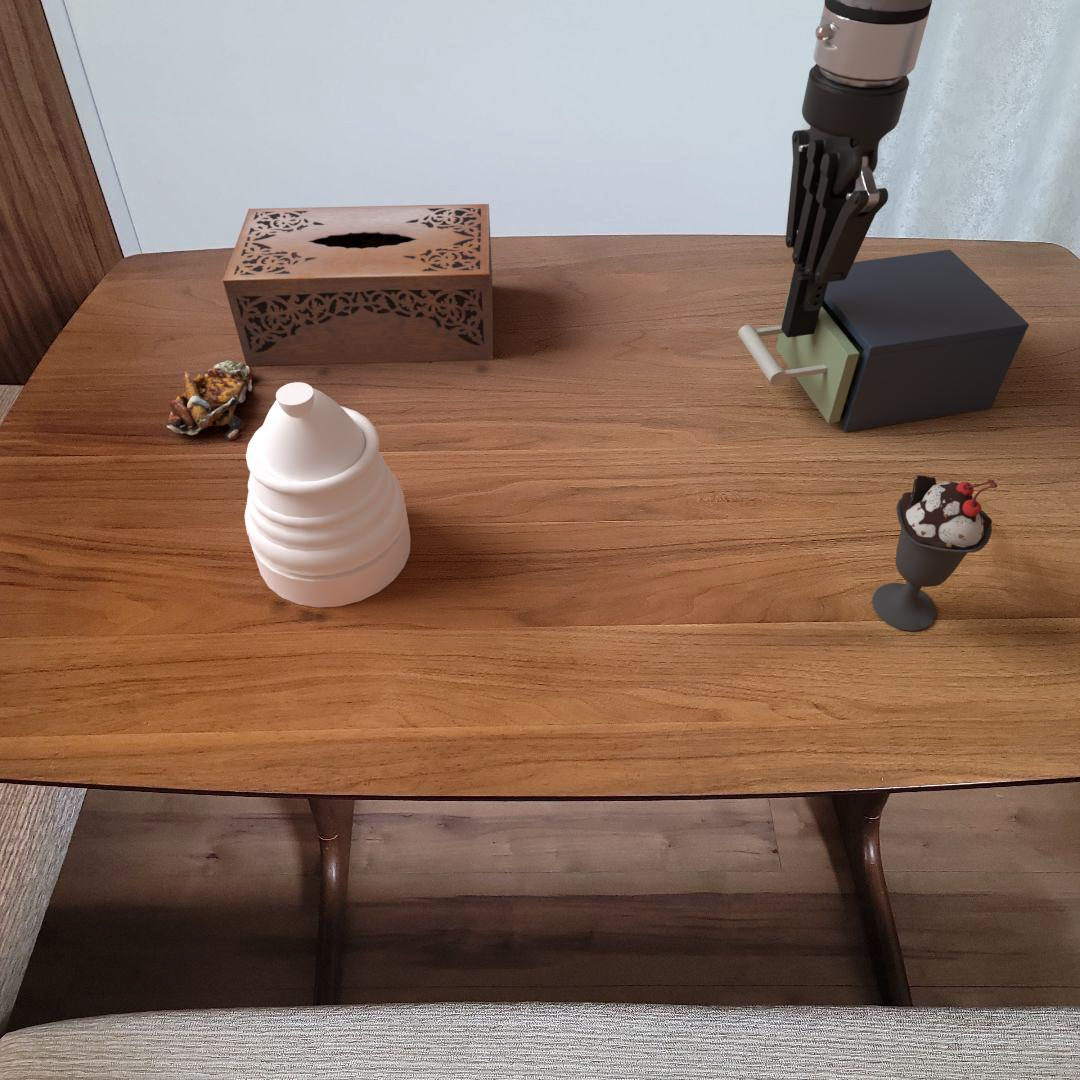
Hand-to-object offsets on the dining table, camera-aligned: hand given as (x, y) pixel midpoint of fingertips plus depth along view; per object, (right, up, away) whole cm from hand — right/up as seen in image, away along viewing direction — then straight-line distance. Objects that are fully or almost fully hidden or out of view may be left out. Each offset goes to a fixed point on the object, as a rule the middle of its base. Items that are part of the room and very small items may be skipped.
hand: (797, 331), depth 88 cm
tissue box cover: (-43, +4, +14) cm, 45 cm away
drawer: (+6, -3, +6) cm, 9 cm away
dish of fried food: (-57, -6, +5) cm, 58 cm away
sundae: (+5, -25, -13) cm, 29 cm away
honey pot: (-42, -21, -9) cm, 48 cm away
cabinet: (+11, -3, +7) cm, 14 cm away
